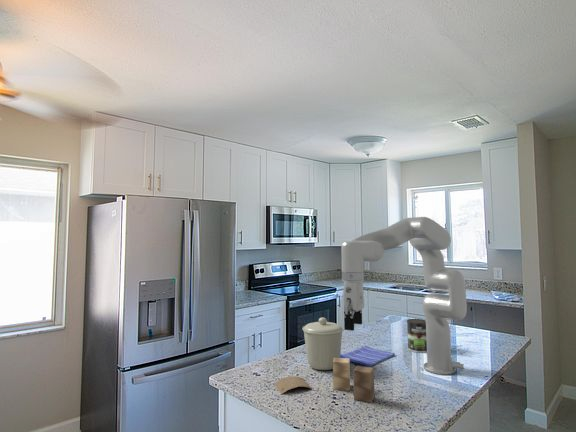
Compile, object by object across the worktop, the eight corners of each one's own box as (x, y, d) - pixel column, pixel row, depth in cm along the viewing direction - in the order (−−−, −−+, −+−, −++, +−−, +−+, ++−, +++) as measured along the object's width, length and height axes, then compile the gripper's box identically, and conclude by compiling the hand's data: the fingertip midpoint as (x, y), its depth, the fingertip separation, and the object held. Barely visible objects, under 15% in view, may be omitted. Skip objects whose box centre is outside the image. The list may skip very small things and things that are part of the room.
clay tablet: (305, 380, 144) (305, 373, 144) (316, 390, 135) (315, 383, 135) (270, 386, 139) (270, 379, 139) (279, 397, 130) (279, 389, 130)
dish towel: (335, 360, 167) (335, 354, 167) (364, 349, 183) (364, 343, 184) (367, 370, 155) (367, 363, 155) (395, 356, 171) (395, 350, 171)
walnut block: (374, 397, 127) (373, 368, 128) (371, 403, 123) (370, 372, 123) (357, 394, 130) (357, 365, 130) (354, 399, 125) (353, 370, 126)
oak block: (350, 385, 138) (349, 358, 138) (349, 390, 133) (349, 362, 133) (334, 384, 139) (333, 357, 139) (333, 389, 134) (332, 362, 135)
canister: (294, 366, 158) (293, 317, 159) (321, 356, 171) (320, 311, 172) (326, 377, 145) (325, 324, 147) (352, 366, 158) (351, 317, 159)
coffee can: (431, 353, 173) (430, 323, 174) (408, 352, 176) (407, 322, 177) (428, 347, 183) (427, 318, 184) (406, 345, 186) (405, 318, 187)
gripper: (356, 279, 116) (357, 334, 115) (369, 275, 132) (370, 322, 131) (334, 278, 120) (334, 331, 119) (349, 274, 135) (350, 320, 134)
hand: (353, 326), depth 125 cm, fingers open, 9 cm apart
